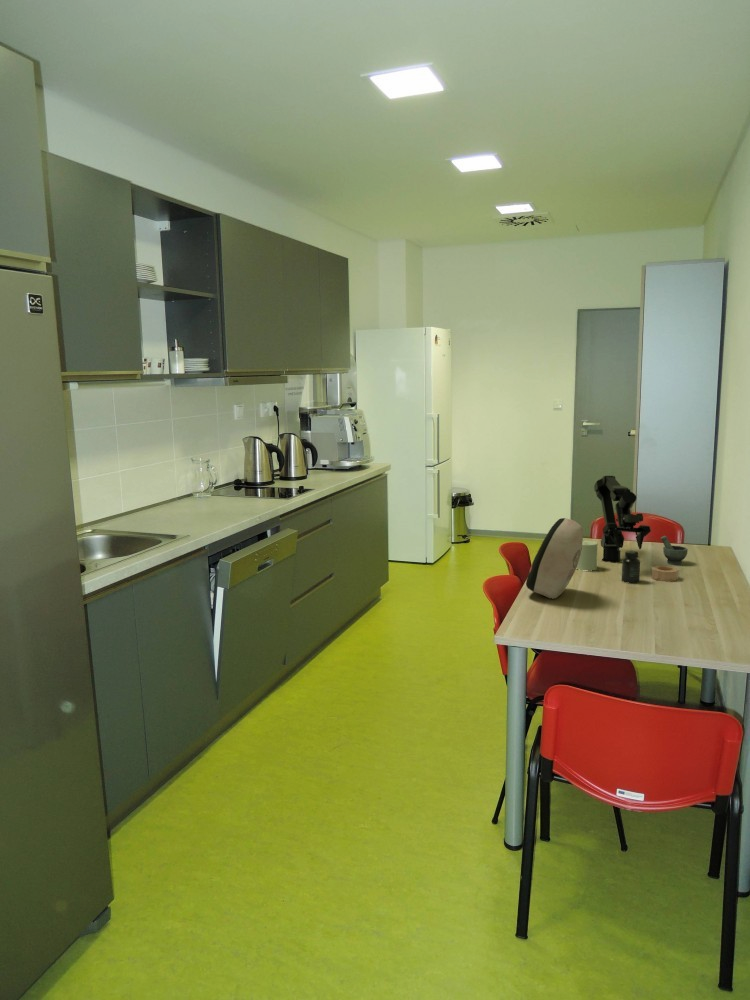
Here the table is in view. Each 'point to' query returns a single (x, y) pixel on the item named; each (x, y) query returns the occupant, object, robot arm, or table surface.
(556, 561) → the grey rounded piece
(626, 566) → the supplement bottle
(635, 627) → the table surface
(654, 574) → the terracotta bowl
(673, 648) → the table surface
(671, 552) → the mortar and pestle
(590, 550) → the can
